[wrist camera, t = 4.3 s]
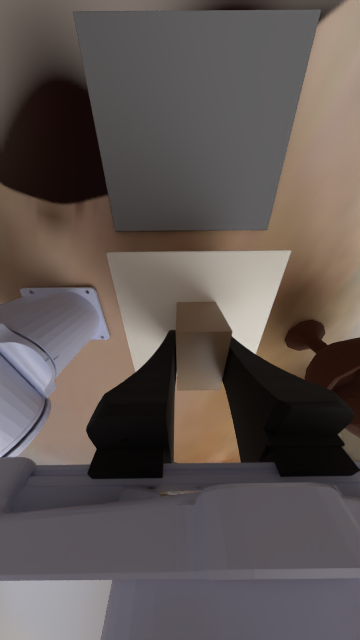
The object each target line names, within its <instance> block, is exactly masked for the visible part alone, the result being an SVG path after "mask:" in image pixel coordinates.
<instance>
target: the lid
mask: <svg viewBox="0 0 360 640" xmlns="http://www.w3.org/2000/svg"><path fill="white" fill-rule="evenodd" d="M290 253H291V250H228V251H146V252H107V253H106V255H107V259H108V263H109V267H110V271H111V275H112V279H113V283H114V287H115V292H116V296H117V300H118V304H119V308H120V312H121V316H122V320H123V324H124V328H125V332H126V336H127V340H128V344H129V348H130V352H131V356H132V360H133V364H134V368H135V372H136V371H137V370H139V369H140V368H141V367H142V366H143V365H144V364H145V363H146V362H147V361H148V360H149V359H150V358H151V356H152V355H153V354H154V353H155V352H156V350H157V349H158V348H159V346H160V345H161V343H162V342H163V340H164V339H165V337H166V335H167V333H168V331H169V330H176V359H177V374H176V376H177V390H220V388H221V384H222V379H223V374H224V369H225V365H226V360H227V355H228V351H229V346H230V341H231V336H232V337H233V338H235V339H236V340H237V341H238V342H239V343H241V344H242V345H243V346H245V347H246V348H247V349H249V350H250V351H252V352H253V353H254V354H256V352H257V349H258V346H259V343H260V340H261V337H262V334H263V332H264V329H265V326H266V323H267V320H268V317H269V314H270V311H271V308H272V305H273V303H274V300H275V297H276V294H277V291H278V288H279V285H280V282H281V279H282V277H283V274H284V271H285V268H286V265H287V262H288V259H289V256H290Z"/></svg>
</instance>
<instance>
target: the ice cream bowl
mask: <svg viewBox="0 0 360 640" xmlns="http://www.w3.org/2000/svg"><path fill="white" fill-rule="evenodd" d="M324 335H325V330H324V326H323V325H322V323H319V322H317V321H314V320H310V321H305V322H301V323H299V324H297V325H296V326H295V327H293V328H292V329H291V330H289V332H288V334H287V336H286V338H285V341H286V344H287V346H288V347H289V348H292V349H295V350H298V351H301V350H305V349H311V350H313V351H314V352H315V353H316V355H315V356H314V358H313V359H312V361H311V362H310V364H309V366H308V367H307V369H306V374H305V380H306V381H308V382H311V383H314V384H316V385H319V386H321V387H324V388H326V389H329V390H332V391H334V392H335V393H336V394H337V395H338V396H339V397H340V398H341V399H342V400H343V401H344V402H345V403H346V404H347V405H348V406H349V407H350V408H351V409H352V410H353V413H354V417H353V420H352V421H351V423H350V424H349V425H348V426H347V427H346V428H345V429H346V430H348V431H349V432H350V433H352V434H354V435H355V436H357V437H359V438H360V338H354V339H349V340H345V341H340V342H335V343H332V344H330V345H327V344H326V343H324V342H323V341H322V338H323V336H324Z"/></svg>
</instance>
